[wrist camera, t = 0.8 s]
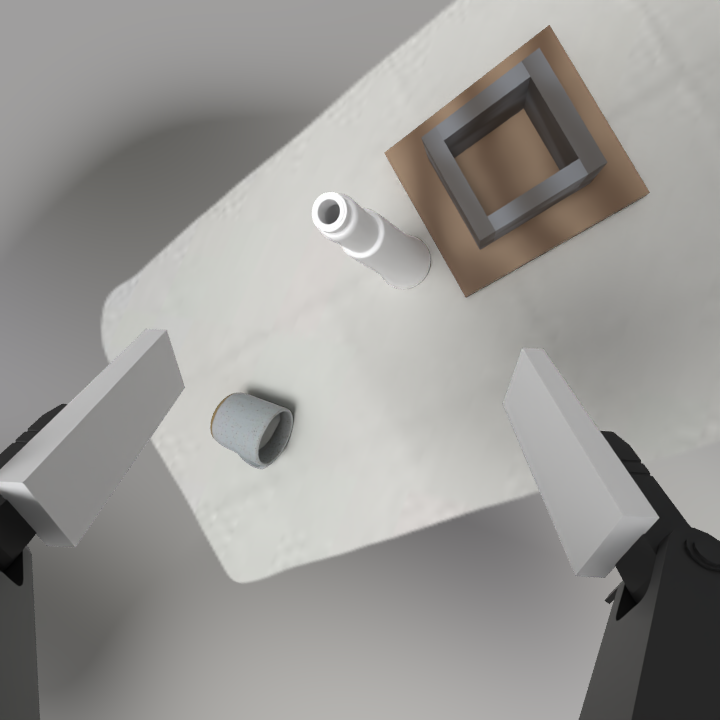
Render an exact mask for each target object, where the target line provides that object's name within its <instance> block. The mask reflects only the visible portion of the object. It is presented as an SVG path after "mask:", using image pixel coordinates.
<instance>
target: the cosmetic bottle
mask: <svg viewBox="0 0 720 720" xmlns="http://www.w3.org/2000/svg"><path fill="white" fill-rule="evenodd" d="M312 219H313V222H314V224H315V225H316V227H317V228H318V229H319V231H320V232H321V234H322V235H323V236H324V237H326V238H327V239H329V240H331V241H333V242H335V243H337V244H339V245H341V247H342V249H343V251H344V252H345V253H346V254H348V255H349V256H350V257H352V258H353V259H355V260H356V261H358V262H360V263H361V264H363V265H365V266H366V267H368V268H370V269H371V270H373V271H375V272H376V273H378V274H379V275H381V277H382V278H383V280H384V281H385V282H386V283H387V284H388V285H390V286H392V287H394V288H397V289H409V288H412V287H414V286H416V285H418V284H419V283H420V282H422V281H423V279H424V278H425V277H426V275H427V273H428V271H429V268H430V262H431V261H430V253H429V250H428V248H427V246H426V245H425V244H424V242H423V241H421V240H420V239H419V238H417V237H415V236H411V235H407V234H405V233H403V232H402V231H401V230H399V229H398V228H397V227H395V226H394V225H393V224H392V223H390V222H389V221H388V220H386V219H385V218H384V217H382V216H381V215H379V214H378V213H376V212H375V211H373V210H371V209H368V208H362V207H361V206H359V205H358V204H357V203H356V202H355V201H354V200H353V199H352V198H350V197H349V196H347V195H345V194H340V193H335V192H326V193H324V194H322V195H320V196H319V197H318V198H317V199H316V201H315V202H314V204H313V207H312Z"/></svg>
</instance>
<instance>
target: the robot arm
mask: <svg viewBox="0 0 720 720" xmlns="http://www.w3.org/2000/svg"><path fill="white" fill-rule="evenodd" d="M184 388H185V386H184V383H183V380H182V377H181V373H180V370H179V367H178V364H177V361H176V358H175V355H174V351H173V348H172V345H171V342H170V339H169V336H168V333H167V330H159V329H146V330H144V331H143V332H142V333H141V334H140V335H139V336H138V337H137V338H136V339H135V340H134V341H133V342H132V343H131V344H130V345H129V346H128V347H127V348H126V349H125V350H124V351H123V352H122V353H121V354H120V355H119V356H117V357H116V358H115V359H114V360H113V361H112V362H111V363H110V364H109V365H108V366H107V367H106V368H105V369H104V370H103V371H102V372H101V373H100V374H99V375H98V376H97V377H96V378H95V379H94V380H93V381H92V382H90V383H89V384H88V385H87V386H86V387H85V388H84V389H83V390H82V391H81V392H80V393H79V394H78V395H77V396H76V397H75V398H74V399H73V400H72V401H71V402H70V403H69V404H61V405H59V406H58V407H56V408H54V409H53V410H51V411H49V412H47V413H46V414H44V415H42V416H41V417H40V418H39V419H38V420H37V421H36V422H35V423H34V424H33V425H31V426H30V427H29V428H28V431H27V432H24V433H23V434H22V435H21V436H20V437H18V438H17V439H16V442H15V443H12V444H11V445H10V446H9V447H8V448H7V449H5V450H4V451H3V452H2V453H1V454H0V720H40V714H39V693H38V675H37V654H36V633H35V613H34V594H33V573H32V554H31V552H30V549H29V547H27V544H28V543H29V542H30V540H31V539H32V538H33V537H34V536H35V534H37V536H38V537H39V538H40V539H41V540H42V541H43V542H44V543H45V544H46V546H59V547H76V546H77V544H78V543H79V541H80V540H81V539H82V537H83V536H84V534H85V532H86V531H87V530H88V528H89V527H90V525H91V524H92V522H93V521H94V519H95V518H96V516H97V515H98V514H99V512H100V510H101V509H102V508H103V506H104V505H105V503H106V502H107V500H108V499H109V497H110V496H111V495H112V493H113V492H114V490H115V489H116V487H117V486H118V485H119V483H120V482H121V480H122V479H123V477H124V476H125V474H126V473H127V471H128V470H129V468H130V467H131V466H132V464H133V463H134V461H135V460H136V458H137V456H138V455H139V454H140V452H141V451H142V449H143V448H144V447H145V445H146V444H147V442H148V441H149V439H150V438H151V436H152V435H153V433H154V432H155V430H156V429H157V428H158V426H159V425H160V423H161V422H162V420H163V419H164V417H165V416H166V414H167V413H168V411H169V410H170V409H171V407H172V406H173V404H174V403H175V401H176V400H177V398H178V397H179V395H180V394H181V392H182V391H183V390H184ZM503 406H504V408H505V411H506V413H507V415H508V418H509V420H510V423H511V425H512V427H513V430H514V432H515V434H516V437H517V439H518V441H519V444H520V446H521V449H522V451H523V453H524V456H525V458H526V460H527V463H528V465H529V468H530V470H531V472H532V475H533V477H534V479H535V482H536V484H537V486H538V489H539V491H540V494H541V496H542V498H543V500H544V503H545V505H546V508H547V510H548V512H549V515H550V517H551V520H552V522H553V524H554V527H555V529H556V531H557V534H558V536H559V539H560V541H561V543H562V546H563V548H564V550H565V553H566V555H567V557H568V560H569V562H570V564H571V567H572V569H573V572H574V574H575V576H584V577H601V578H602V577H603V578H605V577H606V576H607V575H608V574H609V573H610V572H611V571H612V569H613V568H614V567H615V566H616V568H617V569H618V572H619V573H620V575H621V577H622V579H623V581H622V582H621V583H620V584H619V585H618V586H617V587H616V588H615V589H614V590H613V591H612V592H611V593H610V594H609V596H608V597H607V598H606V600H605V601H606V602H607V603H609V604H610V603H611V602H612V601H613V600H614V602H613V606H612V609H611V612H610V616H609V619H608V623H607V626H606V629H605V633H604V636H603V639H602V643H601V646H600V650H599V653H598V656H597V660H596V663H595V667H594V670H593V673H592V677H591V680H590V684H589V687H588V691H587V694H586V697H585V700H584V704H583V708H582V711H581V714H580V718H579V720H720V541H719V540H717V539H715V538H714V537H712V536H711V535H709V534H708V533H705V532H702V531H700V530H698V529H695V528H691V527H690V525H689V524H688V523H687V522H686V520H685V519H684V518H683V516H682V515H681V514H680V512H679V511H678V510H677V508H676V507H675V506H674V504H673V503H672V502H671V500H670V499H669V498H668V496H667V495H666V494H665V492H664V491H663V489H662V488H661V487H660V485H659V484H658V483H657V481H656V480H655V479H654V477H653V476H650V473H649V471H648V469H647V468H646V467H645V465H644V464H642V463H641V460H640V459H639V457H638V456H637V455H636V453H635V452H634V451H633V449H632V448H631V447H630V445H629V444H627V443H626V442H625V441H624V440H622V439H621V438H620V437H619V436H617V435H616V434H615V433H614V432H608V431H600V430H599V429H598V427H597V426H596V425H595V423H594V422H593V420H592V419H591V417H590V416H589V414H588V413H587V411H586V410H585V409H584V407H583V406H582V404H581V403H580V401H579V400H578V398H577V397H576V395H575V394H574V393H573V391H572V390H571V388H570V387H569V385H568V384H567V382H566V381H565V379H564V378H563V377H562V375H561V374H560V372H559V371H558V369H557V368H556V366H555V365H554V363H553V362H552V361H551V359H550V358H549V356H548V355H547V353H546V352H545V350H544V349H541V348H522V350H521V353H520V356H519V358H518V361H517V364H516V367H515V370H514V373H513V375H512V378H511V381H510V384H509V387H508V390H507V393H506V395H505V398H504V401H503Z"/></svg>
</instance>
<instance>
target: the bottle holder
mask: <svg viewBox="0 0 720 720" xmlns="http://www.w3.org/2000/svg"><path fill="white" fill-rule="evenodd" d="M385 155H386V157H387V158H388V160H389V162H390V164H391V165H392V167H393V169H394V171H395V173H396V174H397V176H398V178H399V180H400V181H401V183H402V185H403V187H404V189H405V190H406V192H407V194H408V196H409V197H410V199H411V201H412V203H413V204H414V206H415V208H416V210H417V212H418V213H419V215H420V217H421V219H422V220H423V222H424V224H425V226H426V228H427V229H428V231H429V233H430V235H431V236H432V238H433V240H434V242H435V244H436V245H437V247H438V249H439V251H440V252H441V254H442V256H443V258H444V260H445V261H446V263H447V265H448V267H449V268H450V270H451V272H452V274H453V276H454V277H455V279H456V281H457V283H458V284H459V286H460V288H461V290H462V292H463V293H464V295H465V297H468V296H470V295H471V294H473V293H475V292H477V291H478V290H480V289H482V288H484V287H485V286H487V285H489V284H491V283H492V282H494V281H496V280H498V279H500V278H501V277H503V276H505V275H507V274H508V273H510V272H512V271H514V270H515V269H517V268H519V267H521V266H523V265H524V264H526V263H528V262H530V261H531V260H533V259H535V258H537V257H538V256H540V255H542V254H544V253H545V252H547V251H549V250H551V249H553V248H554V247H556V246H558V245H560V244H561V243H563V242H565V241H567V240H568V239H570V238H572V237H574V236H575V235H577V234H579V233H581V232H583V231H584V230H586V229H588V228H590V227H591V226H593V225H595V224H597V223H598V222H600V221H602V220H604V219H605V218H607V217H609V216H611V215H613V214H614V213H616V212H618V211H620V210H621V209H623V208H625V207H627V206H628V205H630V204H632V203H634V202H636V201H637V200H639V199H641V198H643V197H644V196H645V195H647V194H648V193H650V192H649V190H648V189H647V187H646V185H645V184H644V182H643V180H642V179H641V177H640V175H639V174H638V172H637V170H636V169H635V167H634V165H633V164H632V162H631V160H630V159H629V157H628V155H627V154H626V152H625V150H624V149H623V147H622V145H621V144H620V142H619V140H618V139H617V137H616V135H615V134H614V132H613V130H612V129H611V127H610V125H609V124H608V122H607V120H606V119H605V117H604V115H603V114H602V112H601V110H600V109H599V107H598V105H597V104H596V102H595V100H594V99H593V97H592V95H591V94H590V92H589V90H588V89H587V87H586V85H585V84H584V82H583V80H582V79H581V77H580V75H579V74H578V72H577V70H576V69H575V67H574V65H573V64H572V62H571V60H570V59H569V57H568V55H567V54H566V52H565V50H564V49H563V47H562V45H561V44H560V42H559V40H558V38H557V37H556V35H555V33H554V32H553V30H552V28H551V27H550V25H549V26H547V27H546V28H545V29H544V30H542V31H541V32H540V33H538V34H537V35H536V36H535V37H533V38H532V39H531V40H529V41H528V42H527V43H525V44H524V45H523V46H522V47H520V48H519V49H518V50H516V51H515V52H514V53H513V54H511V55H510V56H509V57H507V58H506V59H505V60H504V61H502V62H501V63H500V64H498V65H497V66H496V67H495V68H493V69H492V70H491V71H489V72H488V73H487V74H485V75H484V76H483V77H482V78H480V79H479V80H478V81H476V82H475V83H474V84H473V85H471V86H470V87H469V88H467V89H466V90H465V91H464V92H462V93H461V94H460V95H458V96H457V97H456V98H455V99H453V100H452V101H451V102H449V103H448V104H447V105H446V106H444V107H443V108H442V109H440V110H439V111H438V112H436V113H435V114H434V115H433V116H431V117H430V118H429V119H427V120H426V121H425V122H424V123H422V124H421V125H420V126H418V127H417V128H416V129H415V130H413V131H412V132H411V133H409V134H408V135H407V136H406V137H404V138H403V139H402V140H400V141H399V142H398V143H396V144H395V145H394V146H393V147H391V148H390V149H389V150H387V151H386V152H385Z"/></svg>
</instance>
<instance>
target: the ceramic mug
mask: <svg viewBox="0 0 720 720" xmlns="http://www.w3.org/2000/svg"><path fill="white" fill-rule="evenodd" d="M292 426H293V416H292V413H291V411H290V410H289V409H287V408H284V407H281V406H279V405H276V404H274V403H271V402H268V401H265V400H262V399H259V398H257V397H255V396H252V395H249V394H244V393H233V394H231V395H229V396H227V397H226V398H225V399H223V400H222V401H221V403H220V404H219V405H218V406H217V408H216V410H215V411H214V413H213V416H212V419H211V434H212V436H213V438H214V439H215V440H216V441H217V442H218V443H219V444H221V445H222V446H224V447H226V448H228V449H230V450H232V451H234V452H236V453H238V455H239V456H240V457H241V458H242V459H243V460H244V461H245V462H246V463H248V464H249V465H251V466H253V467H255V468H258V469H264V468H266V467H268V466H269V464H271V463H272V462H273V461H274V460H276V458H277V457H278V456H279V455H280V454H281V452H282V451H283V449H284V447H285V446H286V444H287V442H288V440H289V437H290V434H291V431H292Z"/></svg>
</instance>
